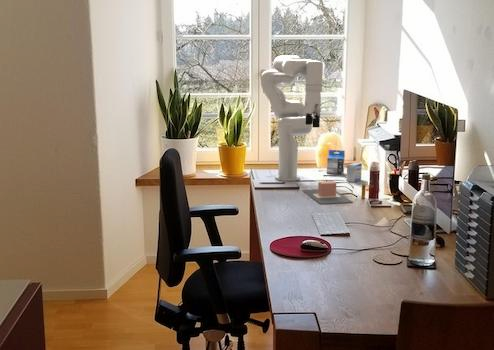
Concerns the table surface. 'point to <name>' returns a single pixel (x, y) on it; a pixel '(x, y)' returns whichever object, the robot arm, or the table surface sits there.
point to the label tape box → (335, 162)
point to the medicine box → (354, 172)
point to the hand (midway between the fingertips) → (312, 125)
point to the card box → (327, 188)
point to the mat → (327, 200)
